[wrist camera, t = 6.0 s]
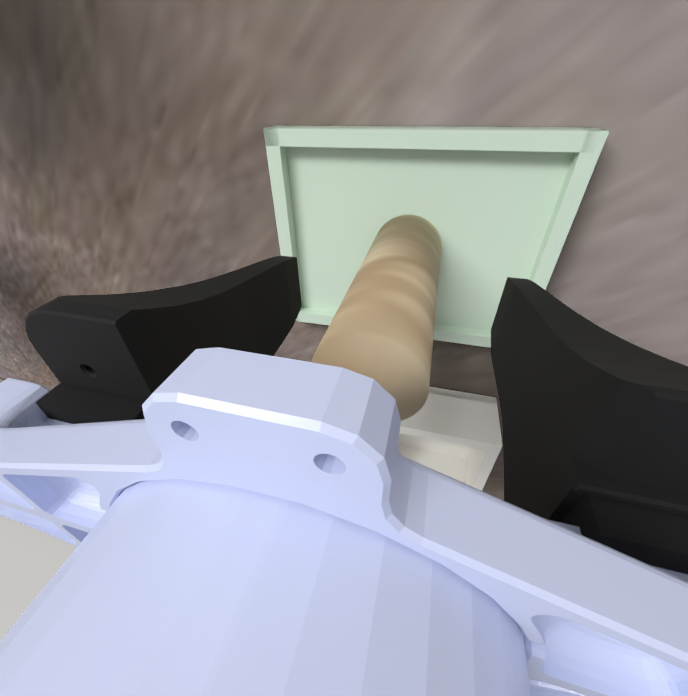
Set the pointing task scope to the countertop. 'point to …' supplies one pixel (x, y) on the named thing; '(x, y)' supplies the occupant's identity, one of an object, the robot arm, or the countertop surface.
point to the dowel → (390, 313)
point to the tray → (429, 207)
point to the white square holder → (454, 435)
